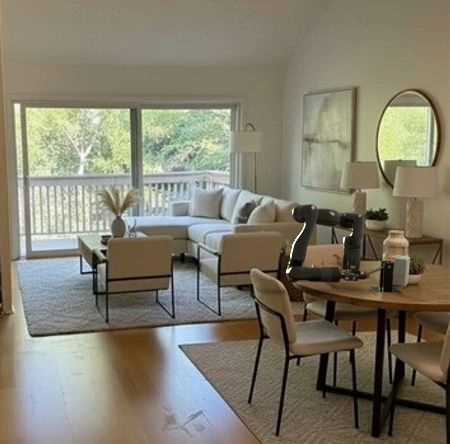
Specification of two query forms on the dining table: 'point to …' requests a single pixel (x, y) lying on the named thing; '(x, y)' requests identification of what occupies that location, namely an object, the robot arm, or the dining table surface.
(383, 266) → the lever
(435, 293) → the dining table surface
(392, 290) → the bracket
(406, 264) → the cosmetic box
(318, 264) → the trinket box
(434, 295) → the dining table surface
